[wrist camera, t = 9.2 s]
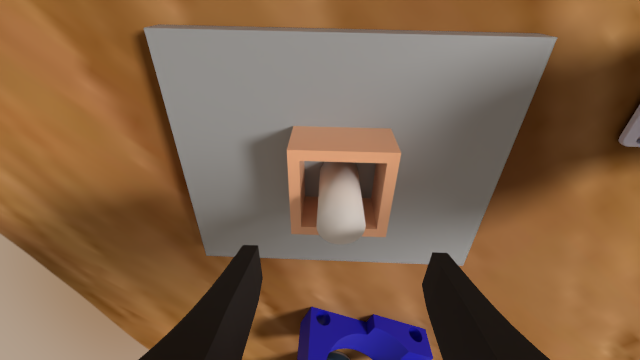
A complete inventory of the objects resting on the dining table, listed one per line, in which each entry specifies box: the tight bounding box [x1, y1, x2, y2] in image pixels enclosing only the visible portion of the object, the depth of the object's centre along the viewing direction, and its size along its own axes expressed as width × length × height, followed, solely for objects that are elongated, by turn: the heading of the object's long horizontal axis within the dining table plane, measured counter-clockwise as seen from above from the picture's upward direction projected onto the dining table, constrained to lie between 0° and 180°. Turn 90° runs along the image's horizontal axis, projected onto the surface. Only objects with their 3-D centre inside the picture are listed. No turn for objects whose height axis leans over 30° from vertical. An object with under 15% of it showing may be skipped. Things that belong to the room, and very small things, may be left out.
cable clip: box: [297, 307, 433, 360], centre depth 28 cm, size 12×4×6 cm, turn 67°
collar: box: [287, 126, 401, 237], centre depth 17 cm, size 6×6×3 cm
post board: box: [144, 25, 557, 266], centre depth 17 cm, size 20×16×6 cm
